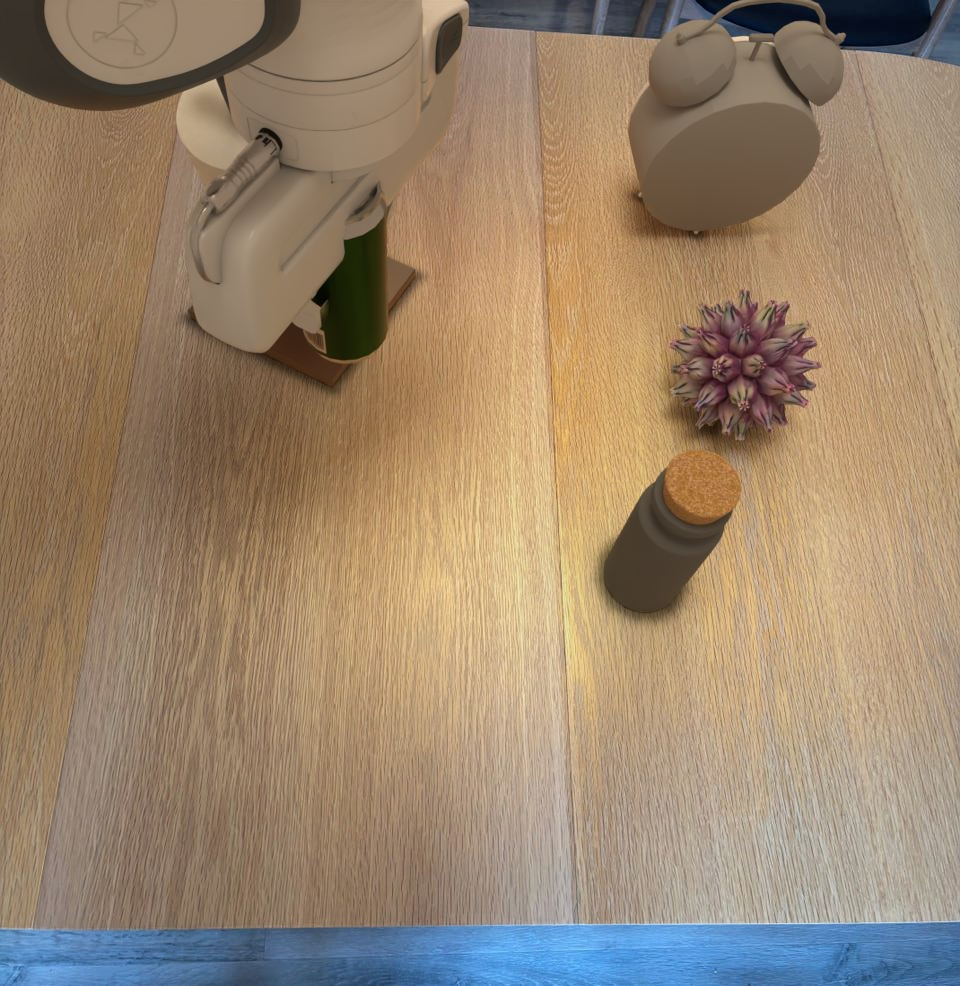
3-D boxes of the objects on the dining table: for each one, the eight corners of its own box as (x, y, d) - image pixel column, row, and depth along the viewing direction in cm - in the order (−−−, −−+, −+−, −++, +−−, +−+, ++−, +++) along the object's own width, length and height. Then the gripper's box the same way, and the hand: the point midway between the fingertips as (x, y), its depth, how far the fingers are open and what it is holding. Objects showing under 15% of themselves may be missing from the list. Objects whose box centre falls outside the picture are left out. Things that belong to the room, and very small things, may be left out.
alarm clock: (758, 182, 87) (862, -38, 68) (782, 246, 83) (900, 31, 64) (600, 184, 85) (661, -42, 65) (617, 250, 81) (688, 29, 61)
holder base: (282, 215, 79) (272, 148, 72) (415, 276, 77) (417, 213, 70) (189, 318, 73) (169, 254, 66) (332, 387, 71) (325, 329, 64)
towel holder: (224, 273, 70) (282, 188, 72) (321, 319, 69) (377, 232, 71) (109, 71, 49) (195, -40, 51) (246, 131, 48) (327, 15, 50)
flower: (787, 461, 73) (670, 474, 68) (734, 346, 78) (621, 351, 73) (880, 383, 63) (752, 393, 59) (813, 258, 68) (689, 258, 64)
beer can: (351, 382, 53) (340, 242, 43) (286, 338, 55) (259, 191, 44) (405, 329, 56) (407, 184, 45) (341, 288, 57) (328, 137, 46)
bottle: (669, 624, 63) (742, 538, 50) (594, 597, 64) (646, 506, 51) (685, 556, 66) (758, 458, 53) (613, 531, 67) (667, 428, 53)
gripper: (250, 249, 34) (289, 434, 46) (486, -12, 43) (467, 200, 55) (118, 186, 35) (190, 385, 47) (377, -55, 44) (381, 163, 56)
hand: (341, 283), depth 51 cm, fingers closed on beer can, 5 cm apart
